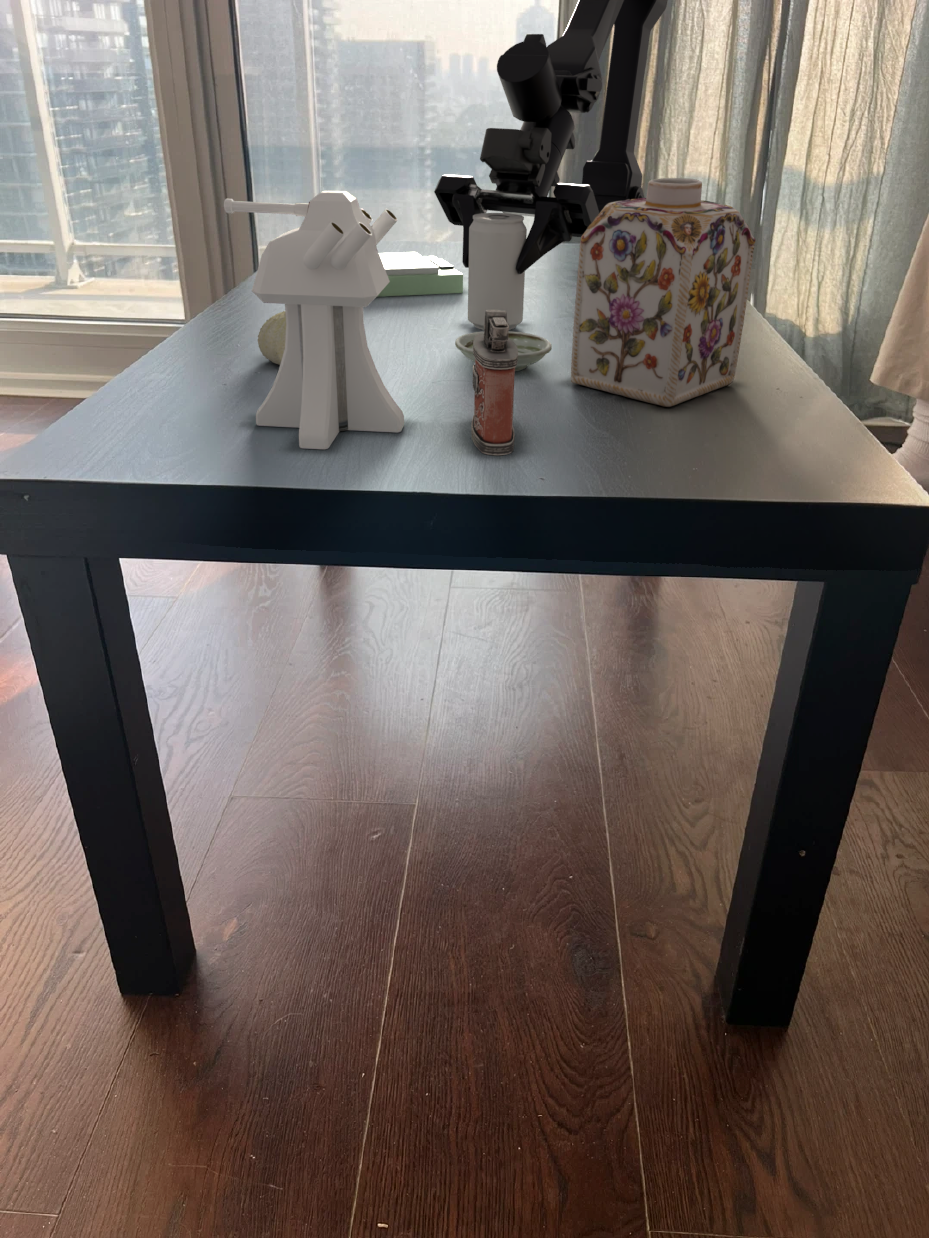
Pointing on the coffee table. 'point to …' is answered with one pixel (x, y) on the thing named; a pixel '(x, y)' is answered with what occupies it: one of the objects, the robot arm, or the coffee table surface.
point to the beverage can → (495, 267)
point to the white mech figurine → (325, 318)
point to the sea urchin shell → (273, 338)
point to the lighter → (494, 386)
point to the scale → (419, 275)
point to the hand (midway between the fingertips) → (491, 268)
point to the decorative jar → (661, 295)
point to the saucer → (527, 344)
